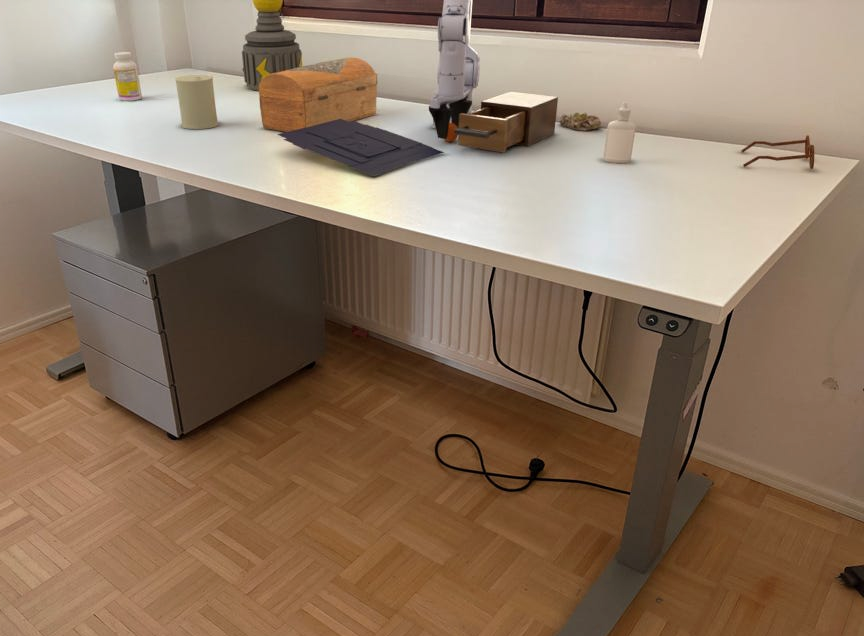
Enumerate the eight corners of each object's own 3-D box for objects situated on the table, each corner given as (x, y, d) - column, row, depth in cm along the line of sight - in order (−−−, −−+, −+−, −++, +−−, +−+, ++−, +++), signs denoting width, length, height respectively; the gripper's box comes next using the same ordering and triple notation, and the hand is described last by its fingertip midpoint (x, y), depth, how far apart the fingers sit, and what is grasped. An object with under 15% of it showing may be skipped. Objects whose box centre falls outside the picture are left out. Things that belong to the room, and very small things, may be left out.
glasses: (812, 173, 149) (820, 148, 146) (742, 167, 153) (748, 143, 150) (805, 157, 159) (812, 133, 157) (740, 152, 163) (745, 128, 161)
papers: (345, 128, 180) (346, 113, 178) (443, 164, 165) (446, 148, 163) (270, 148, 164) (270, 131, 162) (371, 189, 149) (373, 172, 147)
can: (192, 131, 185) (186, 80, 179) (175, 125, 191) (168, 75, 185) (225, 125, 190) (219, 75, 184) (207, 119, 196) (201, 71, 190)
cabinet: (527, 146, 169) (531, 107, 165) (478, 139, 175) (481, 101, 171) (554, 134, 179) (558, 96, 175) (507, 127, 186) (510, 91, 181)
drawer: (492, 157, 158) (494, 124, 154) (446, 149, 164) (447, 118, 160) (530, 139, 171) (533, 109, 167) (486, 133, 176) (488, 103, 173)
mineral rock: (608, 116, 185) (596, 112, 178) (605, 134, 186) (592, 131, 180) (568, 112, 191) (555, 109, 184) (565, 130, 192) (552, 127, 186)
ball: (438, 143, 172) (439, 124, 170) (442, 138, 176) (442, 120, 174) (456, 144, 172) (457, 125, 169) (459, 139, 175) (460, 121, 173)
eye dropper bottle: (623, 165, 155) (633, 105, 149) (599, 160, 158) (607, 102, 152) (633, 161, 157) (643, 102, 151) (609, 156, 161) (617, 99, 155)
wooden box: (331, 107, 208) (329, 54, 201) (379, 114, 200) (378, 59, 193) (256, 128, 187) (251, 69, 180) (306, 136, 179) (302, 75, 172)
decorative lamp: (236, 91, 231) (225, -17, 216) (255, 81, 247) (246, -21, 232) (294, 92, 228) (287, -17, 213) (310, 82, 244) (304, -20, 229)
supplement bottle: (125, 96, 225) (117, 51, 218) (145, 97, 224) (138, 51, 217) (115, 101, 219) (106, 54, 213) (136, 101, 218) (128, 54, 212)
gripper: (453, 67, 173) (450, 127, 180) (419, 76, 163) (418, 139, 170) (479, 70, 170) (476, 130, 177) (446, 79, 160) (444, 143, 166)
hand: (449, 135), depth 173 cm, fingers open, 6 cm apart
